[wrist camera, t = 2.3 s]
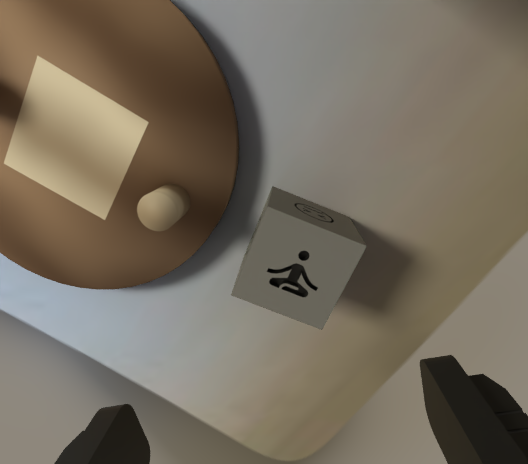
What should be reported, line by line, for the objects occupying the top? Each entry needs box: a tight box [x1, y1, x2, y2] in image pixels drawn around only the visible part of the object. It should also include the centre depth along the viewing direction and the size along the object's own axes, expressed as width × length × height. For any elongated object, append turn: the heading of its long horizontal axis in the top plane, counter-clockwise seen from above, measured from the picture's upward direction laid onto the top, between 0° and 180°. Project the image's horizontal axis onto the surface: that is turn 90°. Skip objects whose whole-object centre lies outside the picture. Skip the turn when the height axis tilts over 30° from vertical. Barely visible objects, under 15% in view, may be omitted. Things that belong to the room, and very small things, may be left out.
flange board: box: [0, 0, 239, 289], centre depth 18 cm, size 18×18×4 cm
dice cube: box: [231, 187, 367, 330], centre depth 19 cm, size 5×5×5 cm
